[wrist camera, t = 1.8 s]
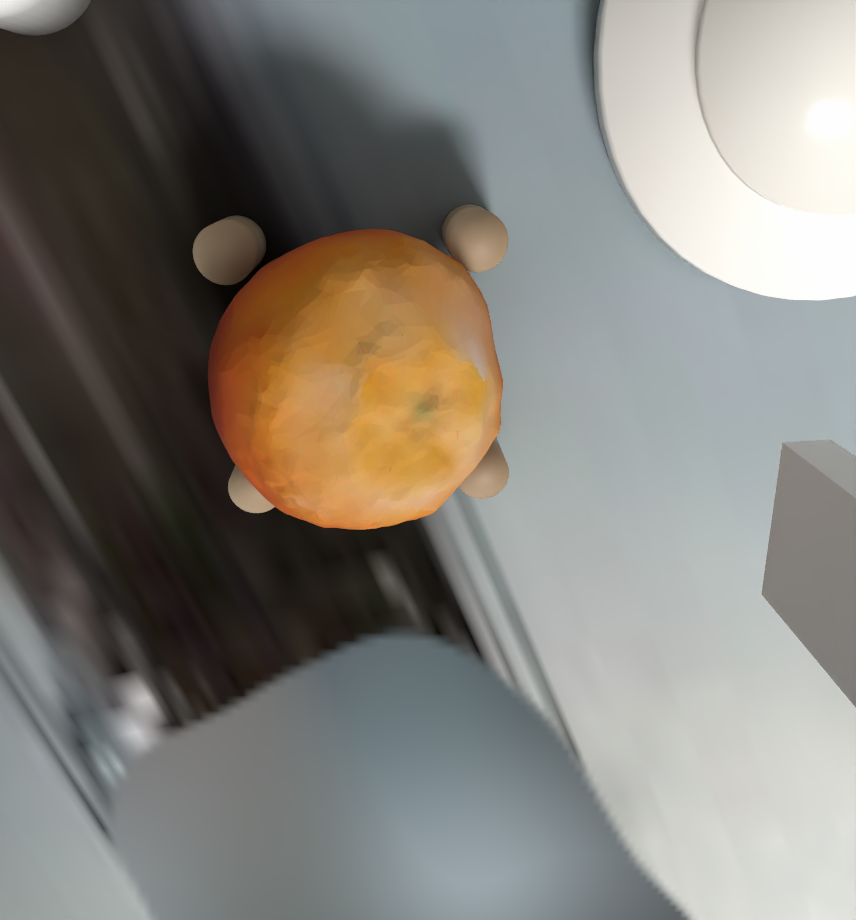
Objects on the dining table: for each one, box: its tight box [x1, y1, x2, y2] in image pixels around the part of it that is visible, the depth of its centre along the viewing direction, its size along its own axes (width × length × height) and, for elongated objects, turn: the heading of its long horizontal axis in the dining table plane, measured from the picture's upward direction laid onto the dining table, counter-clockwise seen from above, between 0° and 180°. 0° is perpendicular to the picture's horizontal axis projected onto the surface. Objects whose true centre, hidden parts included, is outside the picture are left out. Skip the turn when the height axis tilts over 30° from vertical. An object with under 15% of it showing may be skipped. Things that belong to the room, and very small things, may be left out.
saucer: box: [593, 0, 856, 300], centre depth 21 cm, size 14×14×1 cm
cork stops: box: [193, 204, 509, 513], centre depth 23 cm, size 8×8×2 cm
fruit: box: [208, 229, 503, 529], centre depth 22 cm, size 8×8×8 cm
